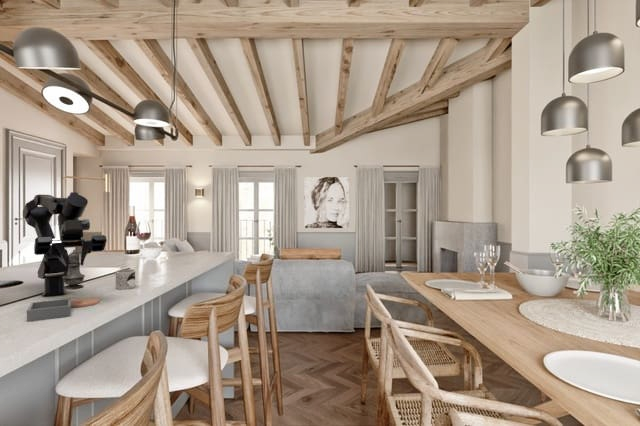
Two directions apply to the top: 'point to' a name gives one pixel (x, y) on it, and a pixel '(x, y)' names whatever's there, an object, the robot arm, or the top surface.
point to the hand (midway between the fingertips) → (74, 265)
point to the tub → (49, 309)
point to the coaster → (84, 302)
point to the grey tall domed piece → (73, 273)
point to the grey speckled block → (125, 279)
